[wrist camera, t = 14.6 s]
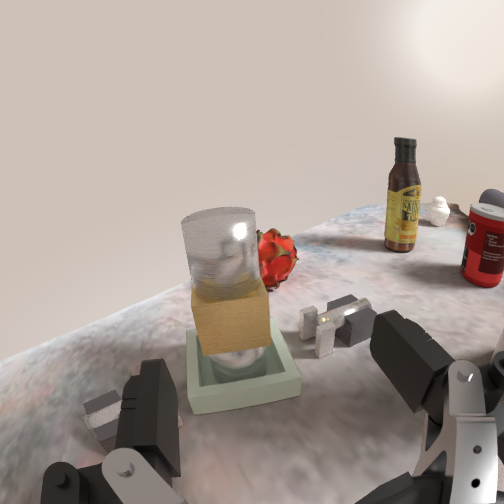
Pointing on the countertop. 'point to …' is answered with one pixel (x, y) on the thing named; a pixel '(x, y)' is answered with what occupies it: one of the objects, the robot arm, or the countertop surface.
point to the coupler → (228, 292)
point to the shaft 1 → (106, 418)
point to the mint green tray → (245, 391)
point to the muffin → (438, 211)
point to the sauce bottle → (403, 198)
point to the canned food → (484, 245)
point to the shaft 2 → (338, 323)
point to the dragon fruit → (275, 257)
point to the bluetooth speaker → (492, 198)
